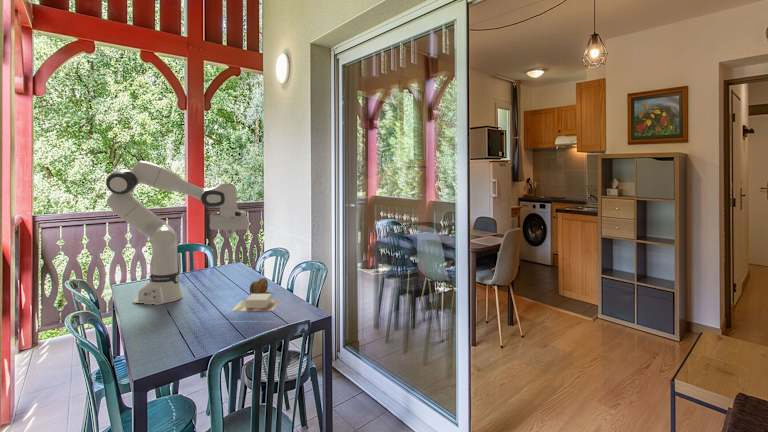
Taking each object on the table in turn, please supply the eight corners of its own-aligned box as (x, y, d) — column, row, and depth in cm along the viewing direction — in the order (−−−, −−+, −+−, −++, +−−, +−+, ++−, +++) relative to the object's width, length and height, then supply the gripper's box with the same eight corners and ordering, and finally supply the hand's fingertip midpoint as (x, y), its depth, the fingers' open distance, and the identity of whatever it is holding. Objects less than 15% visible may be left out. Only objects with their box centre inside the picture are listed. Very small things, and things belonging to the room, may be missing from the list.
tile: (245, 300, 182) (266, 300, 183) (251, 293, 192) (271, 293, 193) (245, 308, 183) (266, 308, 183) (251, 301, 193) (271, 301, 193)
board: (230, 312, 179) (230, 311, 179) (241, 301, 194) (241, 300, 194) (272, 311, 180) (272, 310, 180) (280, 301, 195) (280, 300, 195)
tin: (254, 299, 198) (253, 284, 197) (248, 299, 199) (248, 283, 198) (268, 291, 213) (268, 276, 212) (263, 290, 213) (263, 276, 212)
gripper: (207, 213, 200) (208, 238, 202) (245, 213, 201) (246, 238, 203) (211, 212, 207) (213, 236, 208) (249, 212, 208) (250, 236, 209)
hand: (229, 237), depth 205 cm, fingers closed
